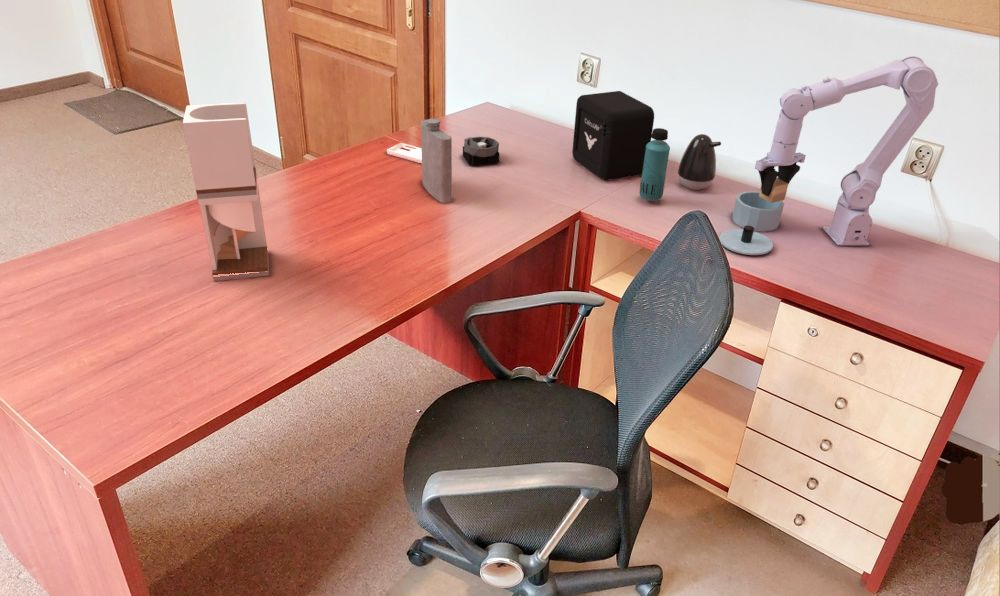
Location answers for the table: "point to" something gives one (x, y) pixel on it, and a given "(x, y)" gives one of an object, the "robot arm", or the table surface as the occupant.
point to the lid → (746, 241)
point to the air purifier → (612, 134)
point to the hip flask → (436, 160)
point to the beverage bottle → (655, 166)
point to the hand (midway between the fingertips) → (772, 192)
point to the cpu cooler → (481, 151)
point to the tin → (757, 211)
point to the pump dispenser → (698, 163)
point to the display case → (227, 188)
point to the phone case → (406, 152)
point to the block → (776, 191)
